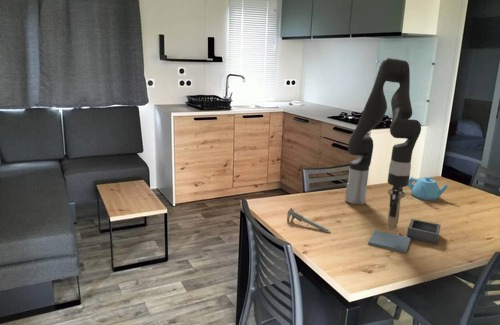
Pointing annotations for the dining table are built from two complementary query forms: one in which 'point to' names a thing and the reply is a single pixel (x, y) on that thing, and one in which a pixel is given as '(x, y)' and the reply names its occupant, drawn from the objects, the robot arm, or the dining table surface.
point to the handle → (394, 220)
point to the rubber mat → (389, 241)
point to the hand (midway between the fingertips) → (393, 214)
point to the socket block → (423, 231)
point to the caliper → (305, 220)
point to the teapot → (426, 188)
